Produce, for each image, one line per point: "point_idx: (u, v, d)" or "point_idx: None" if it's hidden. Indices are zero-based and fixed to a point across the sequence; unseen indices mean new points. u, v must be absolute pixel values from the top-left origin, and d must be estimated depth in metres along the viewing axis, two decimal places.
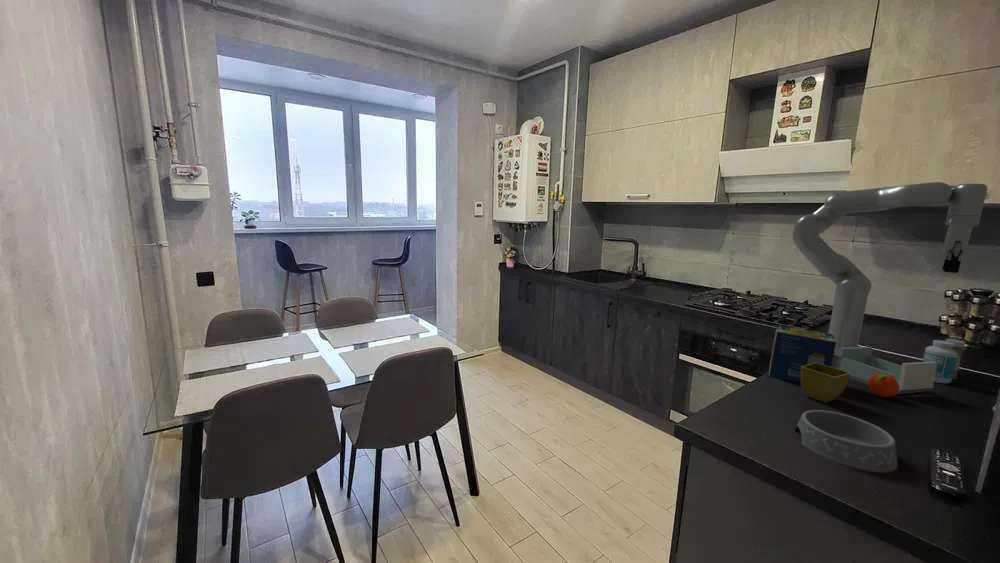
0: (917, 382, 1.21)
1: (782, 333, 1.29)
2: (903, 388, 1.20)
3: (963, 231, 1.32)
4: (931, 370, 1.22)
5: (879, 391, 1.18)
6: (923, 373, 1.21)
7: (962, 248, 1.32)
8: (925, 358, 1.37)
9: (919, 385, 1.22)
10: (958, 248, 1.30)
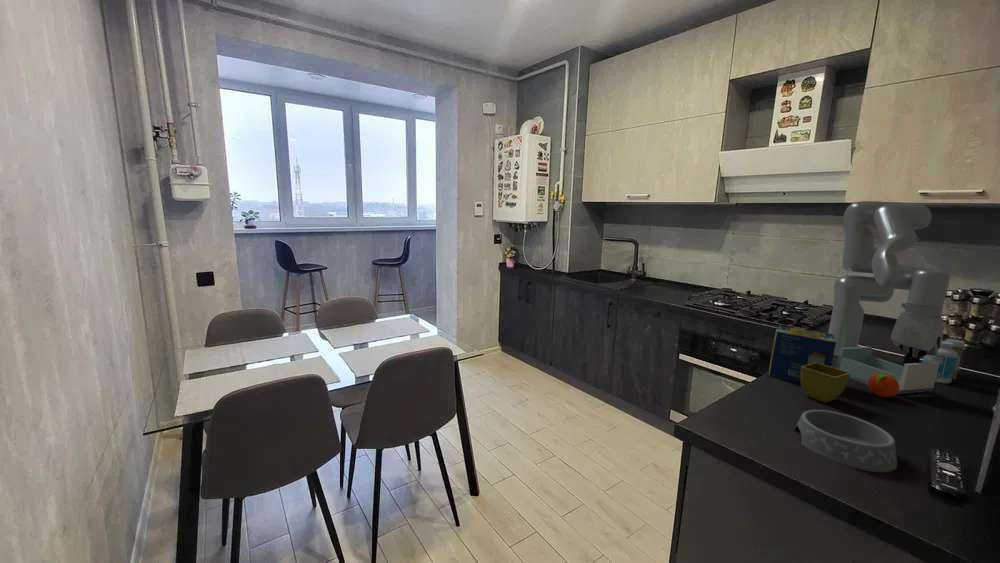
0: (918, 382, 1.21)
1: (782, 333, 1.29)
2: (903, 388, 1.20)
3: (941, 325, 1.17)
4: (933, 371, 1.22)
5: (879, 391, 1.18)
6: (924, 374, 1.21)
7: None
8: (925, 358, 1.37)
9: (919, 385, 1.21)
10: (936, 354, 1.18)
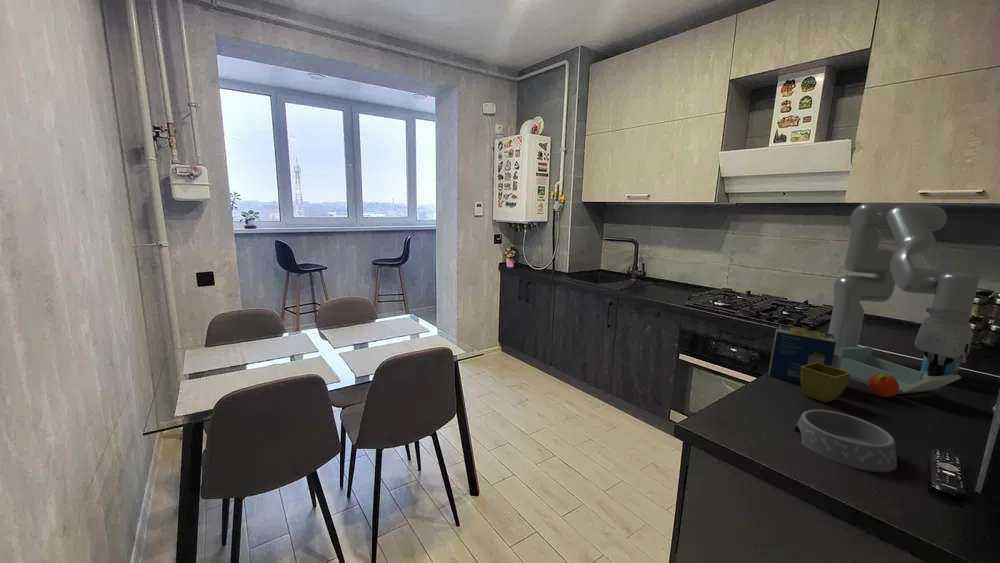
0: (924, 388, 1.20)
1: (782, 333, 1.29)
2: (905, 391, 1.19)
3: (970, 332, 1.11)
4: (948, 382, 1.18)
5: (879, 391, 1.18)
6: (938, 383, 1.18)
7: None
8: (925, 358, 1.37)
9: (923, 389, 1.21)
10: (964, 362, 1.12)
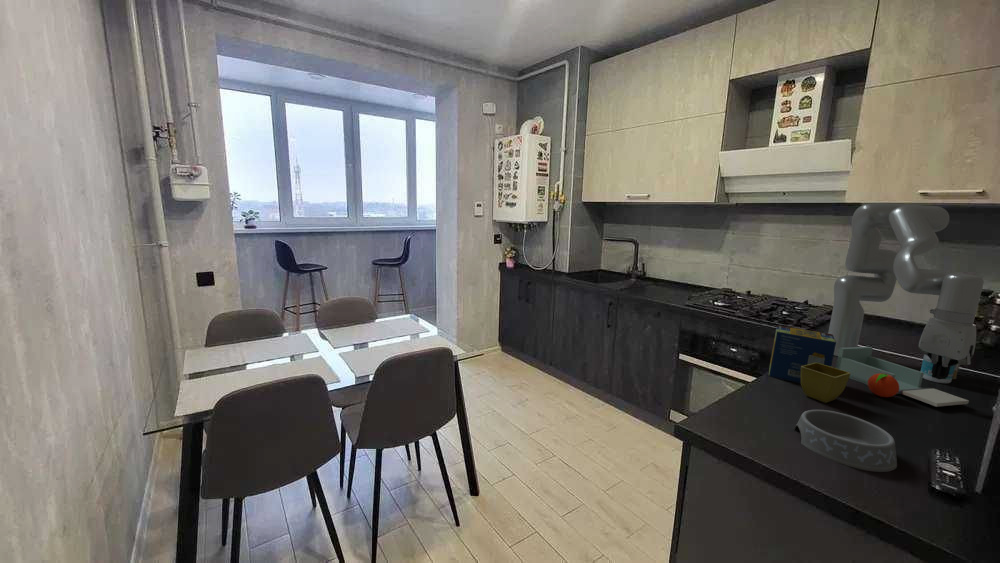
0: None
1: (782, 333, 1.29)
2: (905, 394, 1.20)
3: (974, 333, 1.10)
4: None
5: (879, 391, 1.18)
6: None
7: None
8: (925, 358, 1.37)
9: None
10: (968, 364, 1.11)
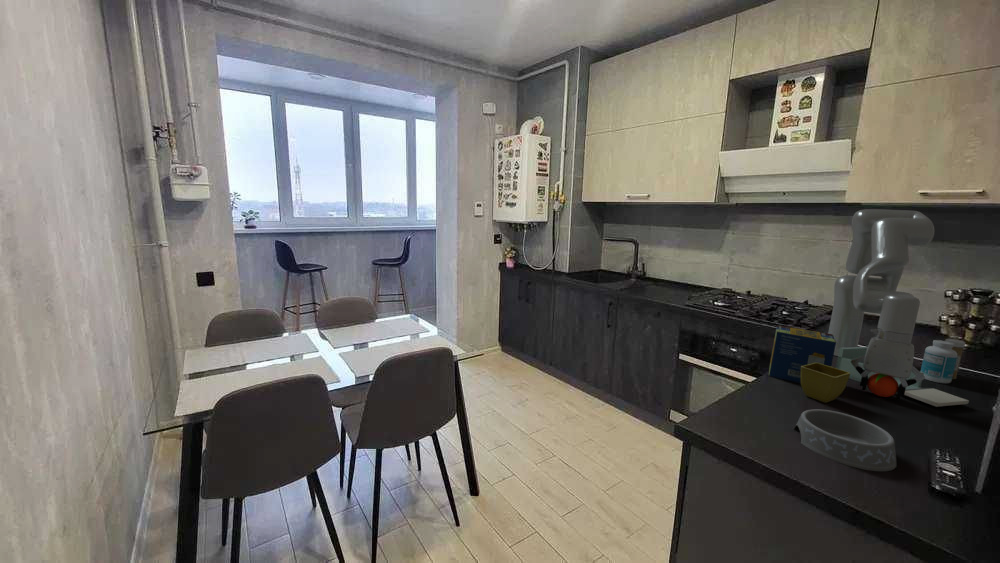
0: None
1: (782, 333, 1.29)
2: (905, 394, 1.20)
3: None
4: None
5: (879, 391, 1.19)
6: None
7: None
8: (925, 358, 1.37)
9: None
10: None
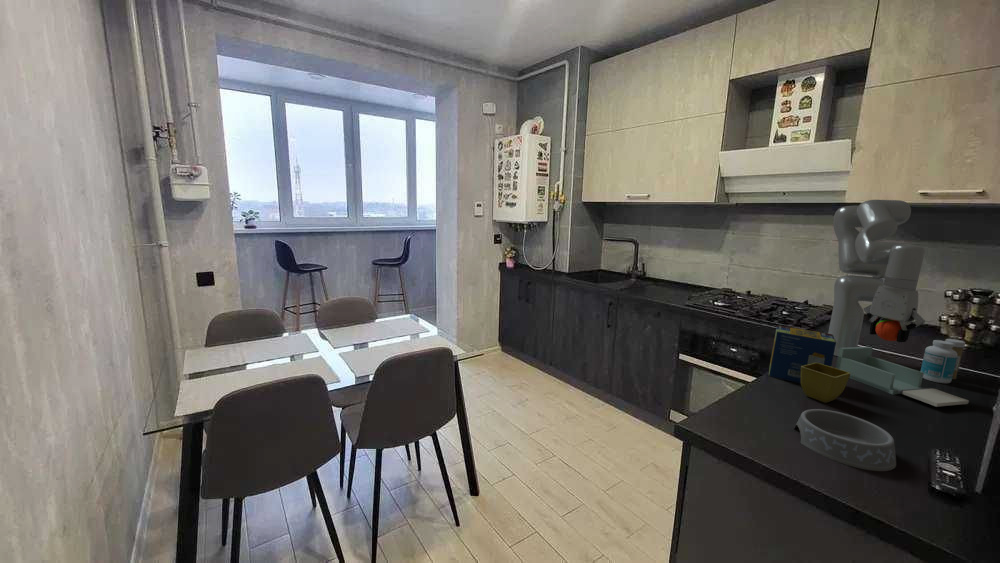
0: None
1: (782, 333, 1.29)
2: (905, 394, 1.20)
3: (916, 297, 1.22)
4: None
5: (880, 333, 1.29)
6: None
7: None
8: (925, 358, 1.37)
9: None
10: (923, 321, 1.20)
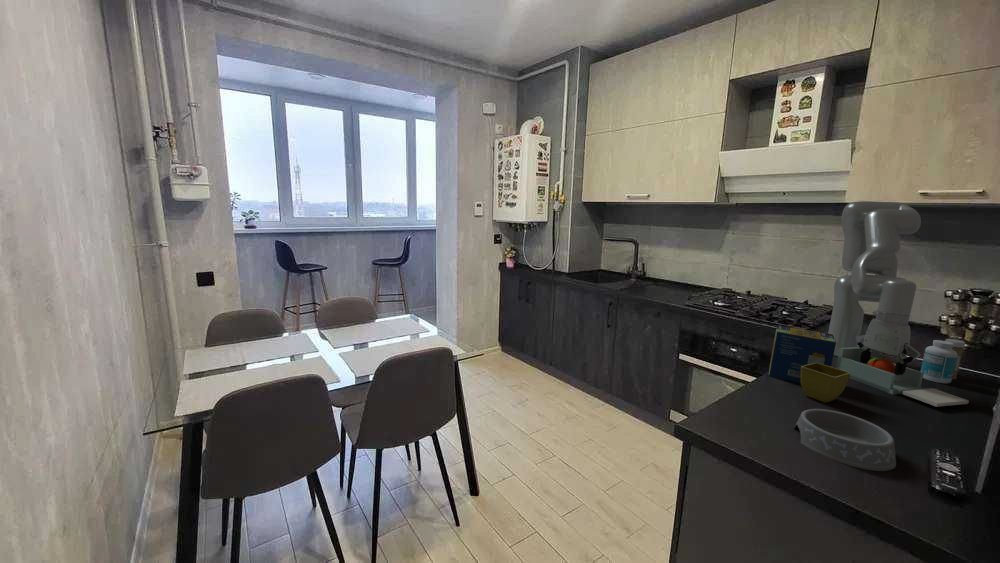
0: None
1: (782, 333, 1.29)
2: (905, 394, 1.20)
3: (908, 332, 1.24)
4: None
5: None
6: None
7: None
8: (925, 358, 1.37)
9: None
10: (919, 353, 1.22)
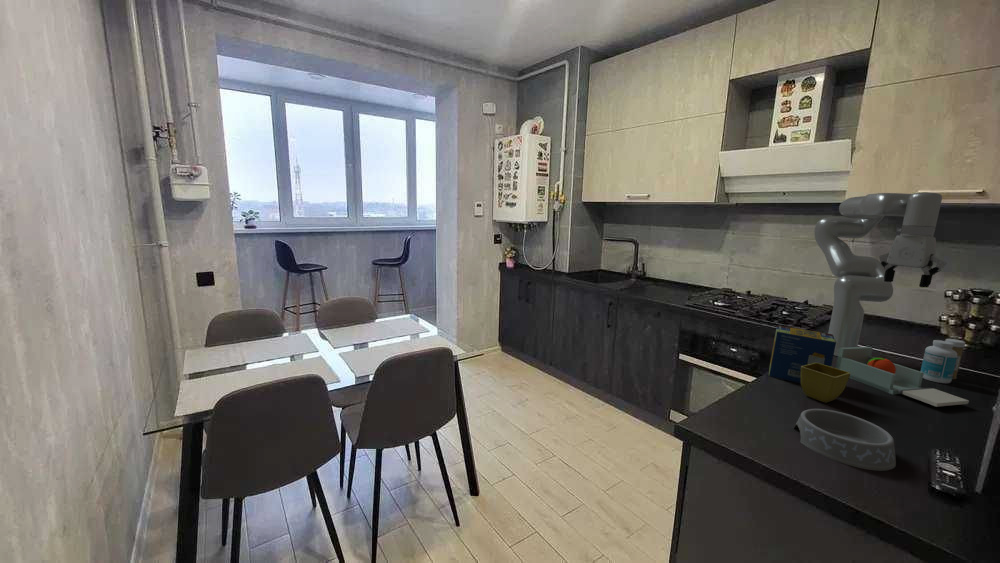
0: None
1: (782, 333, 1.29)
2: (905, 394, 1.20)
3: (934, 243, 1.25)
4: None
5: None
6: None
7: None
8: (925, 358, 1.37)
9: None
10: (945, 263, 1.22)
